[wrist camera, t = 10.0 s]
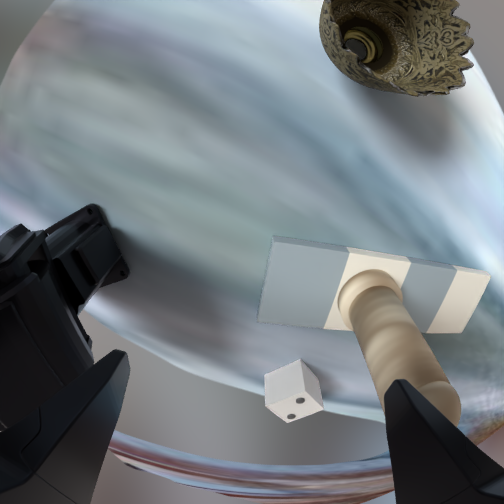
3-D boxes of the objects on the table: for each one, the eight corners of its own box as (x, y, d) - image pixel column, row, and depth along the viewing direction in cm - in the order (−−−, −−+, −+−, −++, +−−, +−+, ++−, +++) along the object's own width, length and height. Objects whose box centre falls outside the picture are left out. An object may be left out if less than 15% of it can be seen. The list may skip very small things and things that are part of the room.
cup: (311, 105, 16) (350, 97, 9) (288, 5, 13) (308, -55, 6) (411, 100, 16) (487, 102, 9) (390, 7, 13) (451, -30, 5)
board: (256, 314, 23) (256, 322, 22) (272, 235, 20) (273, 241, 19) (457, 327, 25) (461, 332, 24) (485, 271, 22) (491, 276, 21)
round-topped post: (342, 328, 23) (387, 477, 11) (332, 281, 21) (392, 449, 9) (396, 310, 22) (466, 443, 10) (393, 260, 20) (490, 401, 8)
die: (284, 392, 28) (287, 424, 25) (264, 373, 27) (265, 407, 23) (318, 378, 27) (324, 410, 24) (300, 358, 26) (305, 392, 22)
